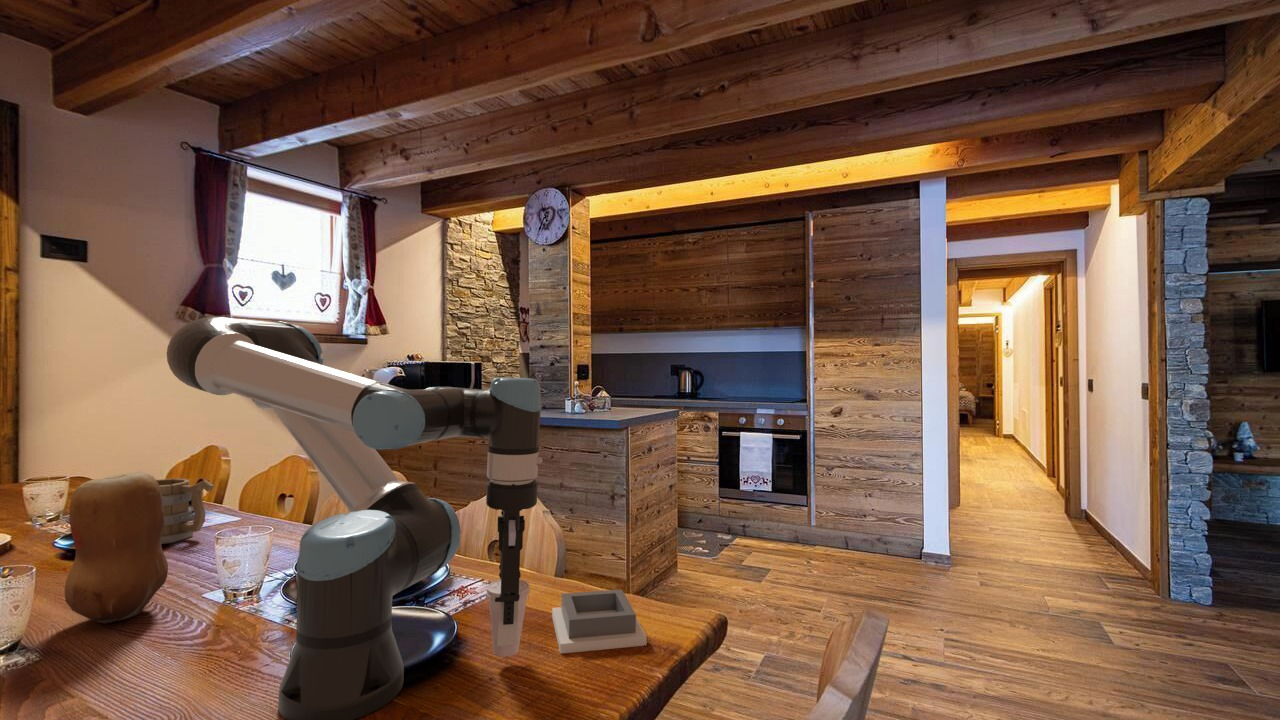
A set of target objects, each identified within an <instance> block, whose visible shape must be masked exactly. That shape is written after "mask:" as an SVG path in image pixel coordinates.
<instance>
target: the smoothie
mask: <svg viewBox="0 0 1280 720" xmlns="http://www.w3.org/2000/svg"><path fill="white" fill-rule="evenodd" d="M530 592H531V590H530V584H529V582H528V581H526V580H524V579H523V580H522V579H521V578H519V595H520V598H519V600H518V622H517V644H515V645H502V646H497V642H498V617H499V602H495V597H500V595H501V579H499V580H494V581H493V582H491V583H489V584H488V585H487V586H486V594H485V595H486V596H487V598H488V604H489V605H488V606H489V615H490V625H491V626H490V628H491V639H492V650H493V654H494V655H495V656H498V657H501V658H502V657H510V656H514V655H516V654H517V653H518V652H519V648H520V643H521V642H520V641H521V638H522V637H521V636H522V630H523V624H524V617H525V611H526V605H527V598H528V595H529V594H530Z"/></svg>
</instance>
